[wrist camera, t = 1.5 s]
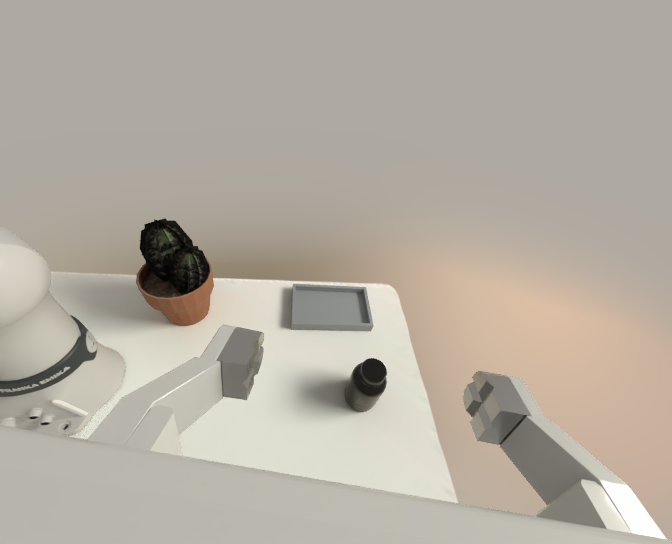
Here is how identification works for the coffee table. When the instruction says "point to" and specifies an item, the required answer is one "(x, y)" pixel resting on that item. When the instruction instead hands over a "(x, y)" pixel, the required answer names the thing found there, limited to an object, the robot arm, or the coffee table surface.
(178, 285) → the potted plant
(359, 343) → the coffee table surface
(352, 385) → the supplement bottle
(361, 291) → the grey serving tray
